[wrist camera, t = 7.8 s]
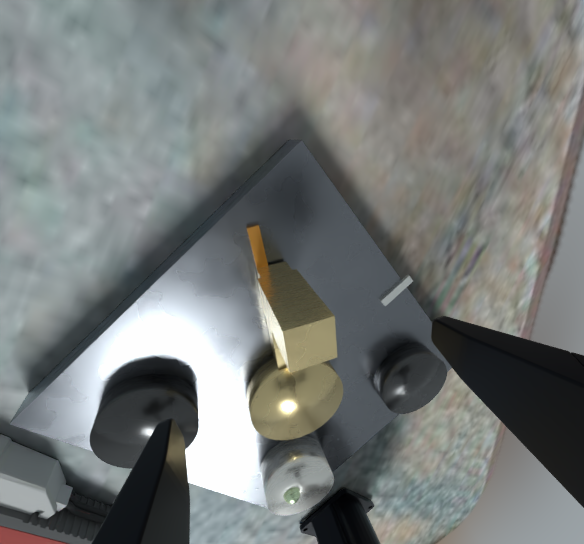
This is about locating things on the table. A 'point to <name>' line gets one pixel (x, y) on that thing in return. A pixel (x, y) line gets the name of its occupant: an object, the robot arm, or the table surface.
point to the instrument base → (246, 345)
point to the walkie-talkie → (42, 501)
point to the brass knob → (294, 358)
